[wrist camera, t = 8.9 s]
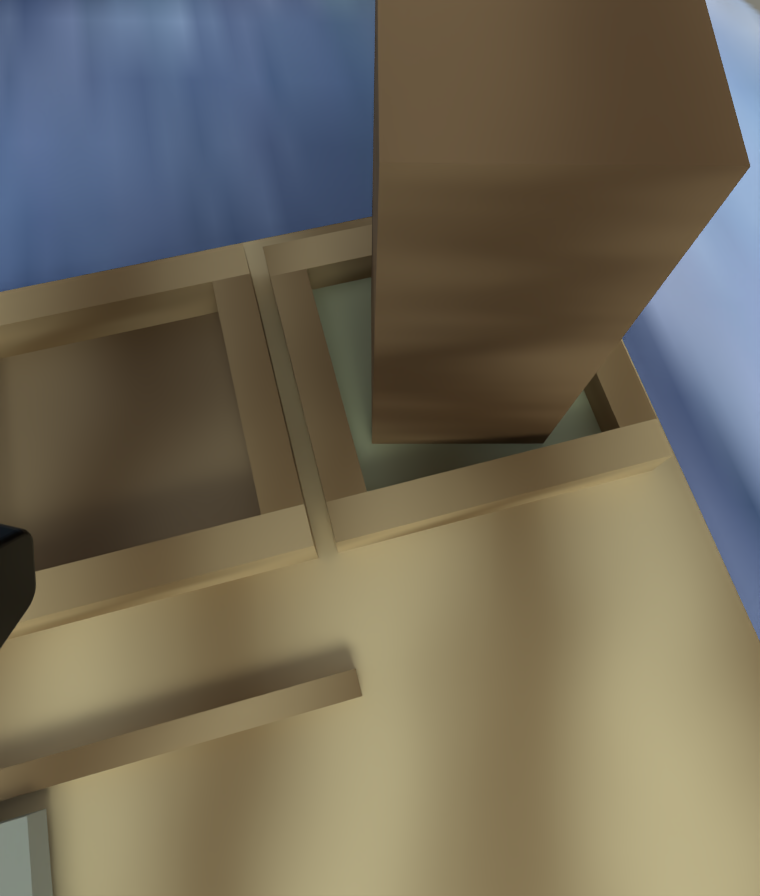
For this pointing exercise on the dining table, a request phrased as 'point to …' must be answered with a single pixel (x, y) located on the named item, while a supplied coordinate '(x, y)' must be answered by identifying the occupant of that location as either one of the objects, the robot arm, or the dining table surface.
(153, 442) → the puzzle board
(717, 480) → the dining table surface
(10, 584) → the robot arm
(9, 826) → the slide cover
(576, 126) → the walnut block
